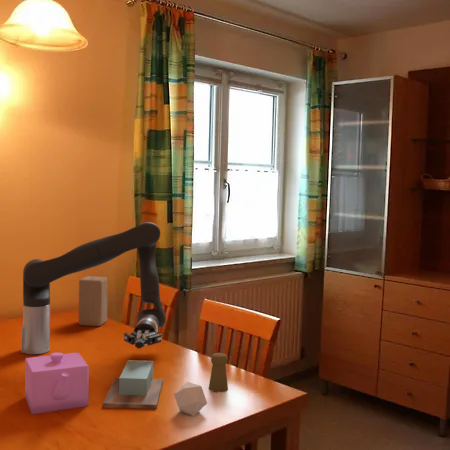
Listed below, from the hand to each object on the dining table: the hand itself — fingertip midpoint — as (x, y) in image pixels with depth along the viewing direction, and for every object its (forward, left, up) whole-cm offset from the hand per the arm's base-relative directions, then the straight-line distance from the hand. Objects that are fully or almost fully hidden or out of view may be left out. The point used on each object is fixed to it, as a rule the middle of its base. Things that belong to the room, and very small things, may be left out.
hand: (139, 345), depth 177 cm
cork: (+25, -3, -12) cm, 28 cm away
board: (0, -10, -12) cm, 15 cm away
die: (+17, -21, -12) cm, 30 cm away
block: (-29, +69, -12) cm, 75 cm away
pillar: (0, +3, -8) cm, 9 cm away
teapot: (-21, -17, -12) cm, 30 cm away
